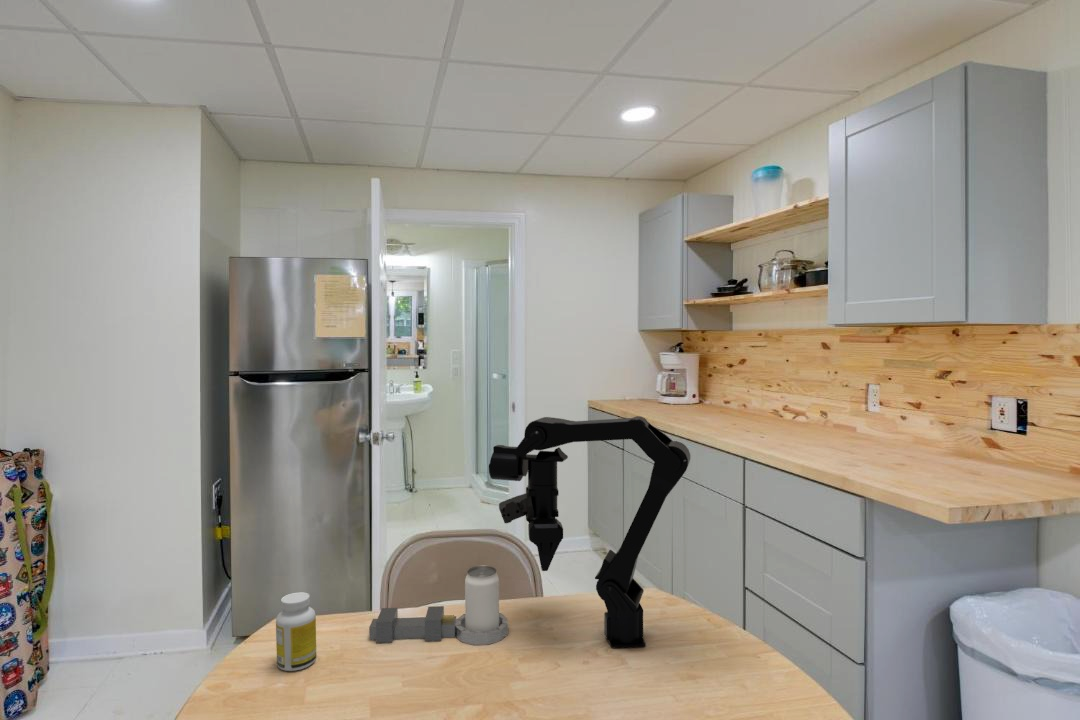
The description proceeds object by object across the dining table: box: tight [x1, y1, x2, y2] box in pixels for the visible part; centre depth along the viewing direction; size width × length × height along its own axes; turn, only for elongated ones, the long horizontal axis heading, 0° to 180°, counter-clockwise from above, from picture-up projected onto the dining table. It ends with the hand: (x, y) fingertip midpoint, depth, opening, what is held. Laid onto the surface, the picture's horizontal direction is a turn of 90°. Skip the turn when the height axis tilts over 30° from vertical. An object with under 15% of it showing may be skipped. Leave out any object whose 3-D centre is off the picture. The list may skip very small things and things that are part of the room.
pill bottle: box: [275, 591, 317, 672], centre depth 107 cm, size 6×6×12 cm
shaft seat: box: [368, 605, 509, 646], centre depth 117 cm, size 26×10×4 cm, turn 94°
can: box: [464, 565, 500, 632], centre depth 118 cm, size 6×6×12 cm
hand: (542, 561), depth 119 cm, fingers open, 9 cm apart
